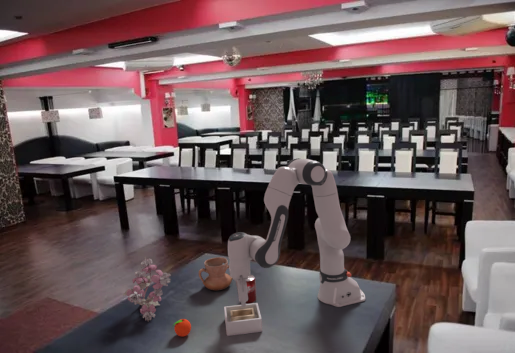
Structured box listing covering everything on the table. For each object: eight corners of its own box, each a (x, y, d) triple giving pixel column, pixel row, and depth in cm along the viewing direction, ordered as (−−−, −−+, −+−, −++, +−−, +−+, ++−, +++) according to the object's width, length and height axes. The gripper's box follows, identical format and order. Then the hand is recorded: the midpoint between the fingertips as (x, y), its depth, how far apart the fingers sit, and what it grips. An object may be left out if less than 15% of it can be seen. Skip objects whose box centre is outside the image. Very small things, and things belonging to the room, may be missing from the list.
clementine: (174, 342, 159) (172, 327, 158) (171, 333, 166) (169, 318, 164) (193, 337, 162) (192, 321, 161) (189, 328, 169) (188, 313, 167)
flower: (107, 316, 179) (116, 276, 168) (137, 288, 199) (147, 251, 188) (143, 338, 175) (155, 299, 164) (170, 308, 195) (182, 271, 185)
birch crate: (253, 318, 172) (252, 307, 171) (255, 325, 167) (254, 315, 166) (231, 320, 171) (230, 310, 170) (232, 328, 165) (231, 318, 164)
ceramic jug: (233, 278, 213) (231, 254, 210) (235, 291, 199) (233, 265, 196) (200, 282, 211) (197, 258, 208) (200, 295, 197) (197, 269, 194)
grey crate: (258, 314, 176) (257, 302, 175) (262, 331, 164) (261, 318, 162) (225, 318, 174) (224, 306, 173) (226, 336, 162) (225, 323, 161)
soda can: (254, 304, 185) (253, 281, 182) (240, 303, 186) (238, 280, 184) (257, 297, 192) (256, 274, 189) (243, 296, 193) (242, 274, 191)
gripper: (250, 281, 154) (252, 312, 157) (244, 260, 174) (246, 288, 177) (234, 283, 153) (237, 314, 156) (230, 261, 173) (233, 290, 176)
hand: (242, 300), depth 167 cm, fingers open, 8 cm apart
